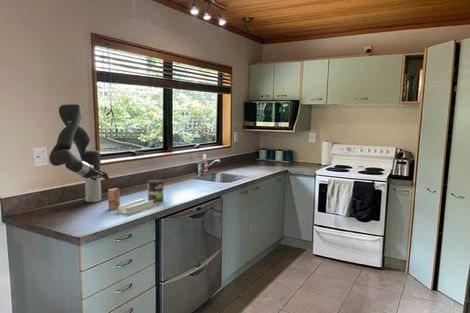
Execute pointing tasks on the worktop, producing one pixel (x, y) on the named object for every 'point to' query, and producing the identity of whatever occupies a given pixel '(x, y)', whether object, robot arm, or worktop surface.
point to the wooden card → (113, 198)
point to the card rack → (134, 207)
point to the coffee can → (155, 190)
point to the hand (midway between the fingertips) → (102, 179)
